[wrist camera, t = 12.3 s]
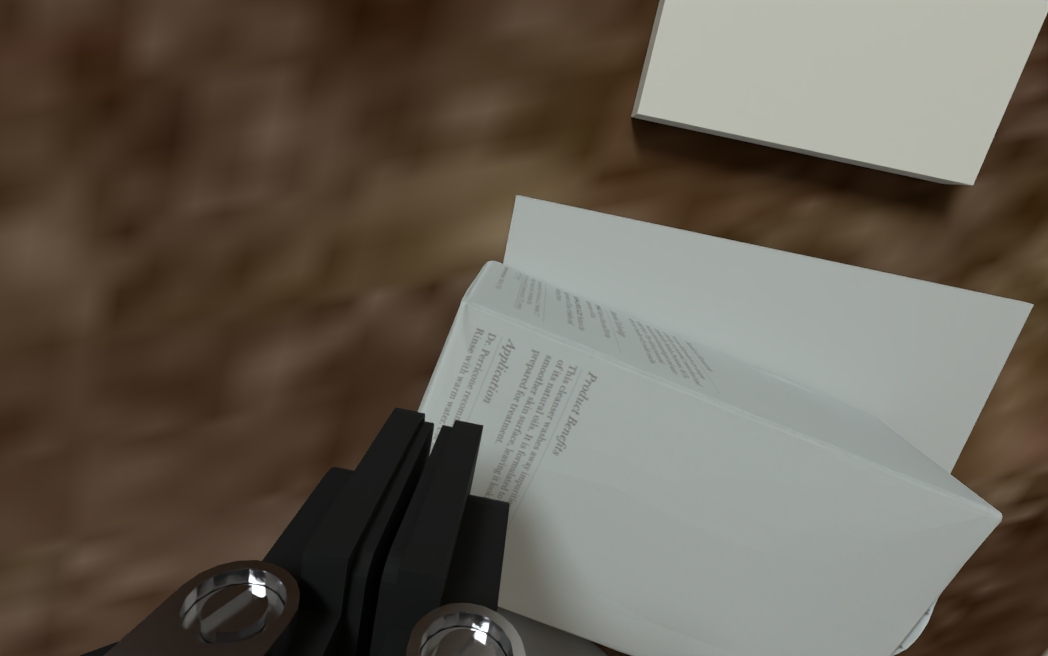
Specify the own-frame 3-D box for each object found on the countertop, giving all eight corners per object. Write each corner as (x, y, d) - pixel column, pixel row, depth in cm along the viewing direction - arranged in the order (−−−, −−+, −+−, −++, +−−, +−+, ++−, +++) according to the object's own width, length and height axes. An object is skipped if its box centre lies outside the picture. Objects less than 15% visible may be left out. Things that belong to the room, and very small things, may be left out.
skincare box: (404, 450, 20) (756, 590, 21) (348, 568, 14) (835, 749, 16) (491, 242, 18) (881, 415, 19) (467, 283, 12) (1029, 527, 13)
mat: (465, 462, 20) (464, 467, 20) (517, 194, 18) (516, 195, 17) (902, 550, 21) (908, 557, 20) (1022, 301, 18) (1033, 304, 17)
